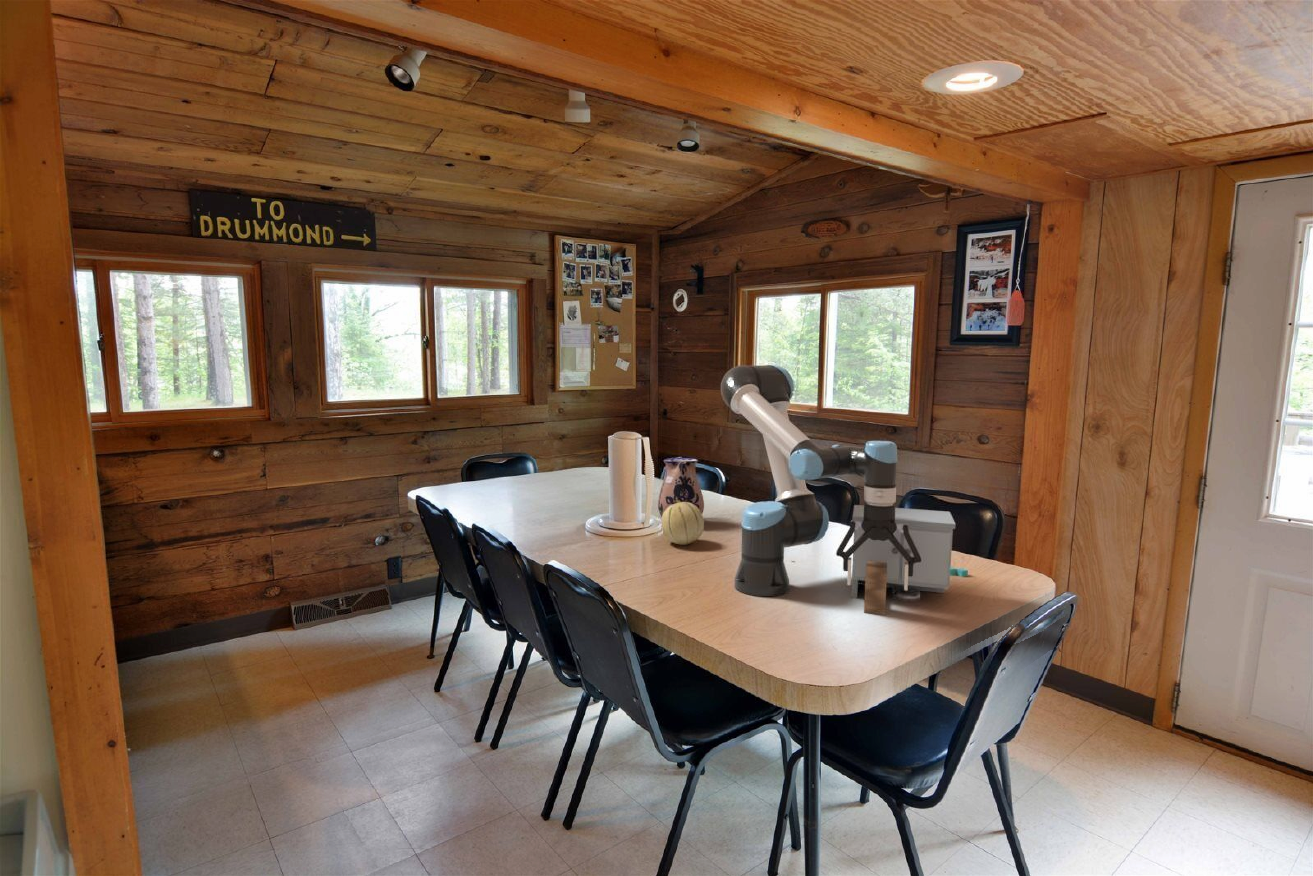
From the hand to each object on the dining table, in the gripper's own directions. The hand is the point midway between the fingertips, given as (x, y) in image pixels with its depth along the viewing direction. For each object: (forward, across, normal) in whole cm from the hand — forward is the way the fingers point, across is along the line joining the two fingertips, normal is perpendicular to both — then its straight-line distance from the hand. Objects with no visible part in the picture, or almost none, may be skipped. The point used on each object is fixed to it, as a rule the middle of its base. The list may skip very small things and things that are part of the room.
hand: (877, 586), depth 173 cm
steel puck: (+7, +8, +13) cm, 17 cm away
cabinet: (+6, +6, +15) cm, 18 cm away
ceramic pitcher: (+5, -72, +72) cm, 102 cm away
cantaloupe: (+5, -63, +44) cm, 78 cm away
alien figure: (+7, +12, +40) cm, 43 cm away
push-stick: (+6, 0, +8) cm, 10 cm away
